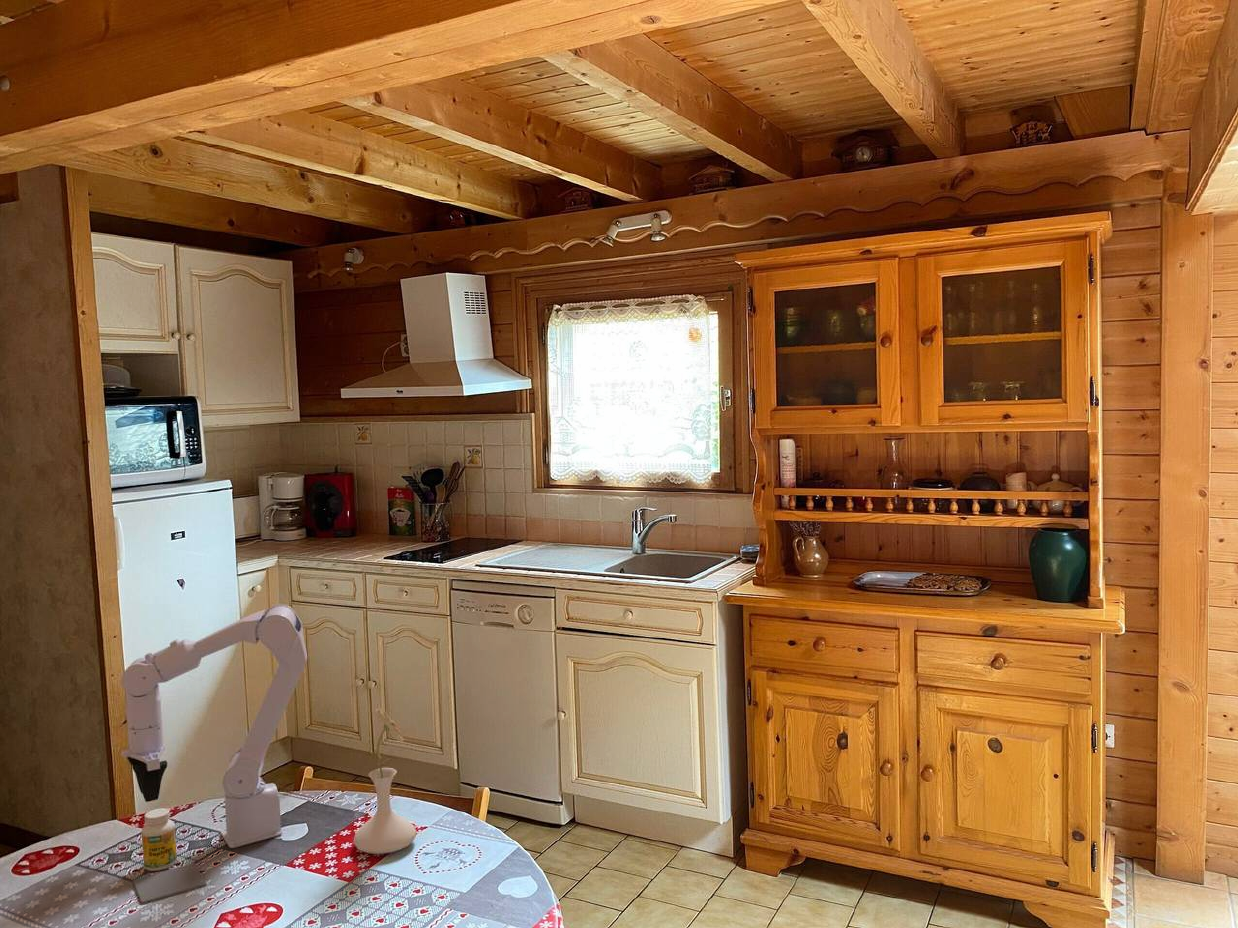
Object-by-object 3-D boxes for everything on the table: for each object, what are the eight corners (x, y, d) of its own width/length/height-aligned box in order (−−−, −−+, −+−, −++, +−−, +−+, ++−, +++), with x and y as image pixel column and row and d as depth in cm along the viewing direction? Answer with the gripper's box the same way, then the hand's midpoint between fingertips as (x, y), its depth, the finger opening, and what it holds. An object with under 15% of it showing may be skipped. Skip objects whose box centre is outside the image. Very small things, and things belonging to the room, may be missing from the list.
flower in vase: (418, 855, 174) (413, 720, 172) (352, 864, 172) (346, 727, 170) (415, 823, 187) (410, 697, 185) (354, 831, 184) (348, 703, 182)
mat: (195, 864, 173) (194, 862, 172) (206, 885, 165) (206, 883, 165) (133, 881, 167) (133, 879, 167) (142, 904, 159) (141, 901, 159)
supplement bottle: (174, 854, 177) (171, 803, 176) (179, 865, 172) (176, 814, 171) (141, 862, 174) (138, 811, 173) (146, 874, 169) (142, 822, 168)
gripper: (114, 718, 181) (119, 788, 182) (126, 740, 169) (131, 815, 170) (155, 710, 185) (160, 778, 186) (170, 731, 173) (174, 804, 174)
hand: (149, 795), depth 179 cm, fingers open, 4 cm apart
